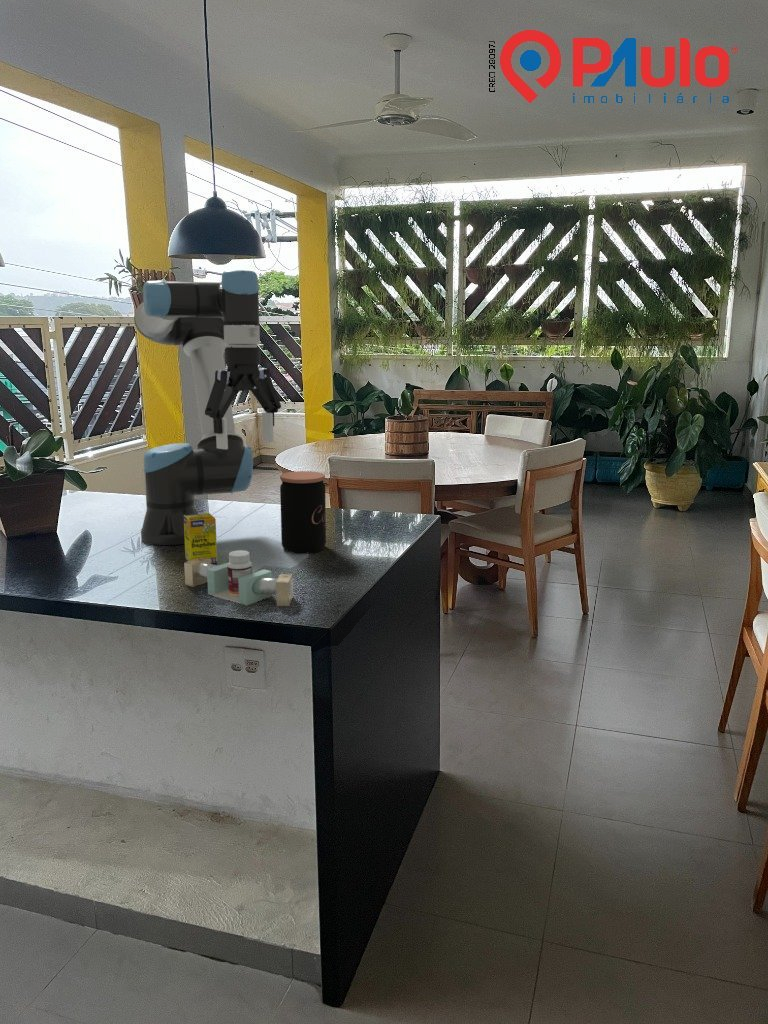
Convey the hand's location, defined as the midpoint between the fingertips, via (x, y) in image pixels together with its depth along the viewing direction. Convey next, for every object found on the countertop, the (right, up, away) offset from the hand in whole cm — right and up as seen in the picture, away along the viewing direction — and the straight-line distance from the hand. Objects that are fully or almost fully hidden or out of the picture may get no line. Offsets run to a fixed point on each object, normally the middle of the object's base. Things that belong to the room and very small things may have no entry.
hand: (245, 445), depth 168 cm
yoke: (+2, -31, -16) cm, 35 cm away
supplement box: (-11, -26, +5) cm, 29 cm away
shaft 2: (+9, -32, -19) cm, 38 cm away
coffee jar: (+11, -24, +17) cm, 31 cm away
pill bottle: (+2, -31, -16) cm, 35 cm away
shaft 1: (-6, -30, -10) cm, 32 cm away
